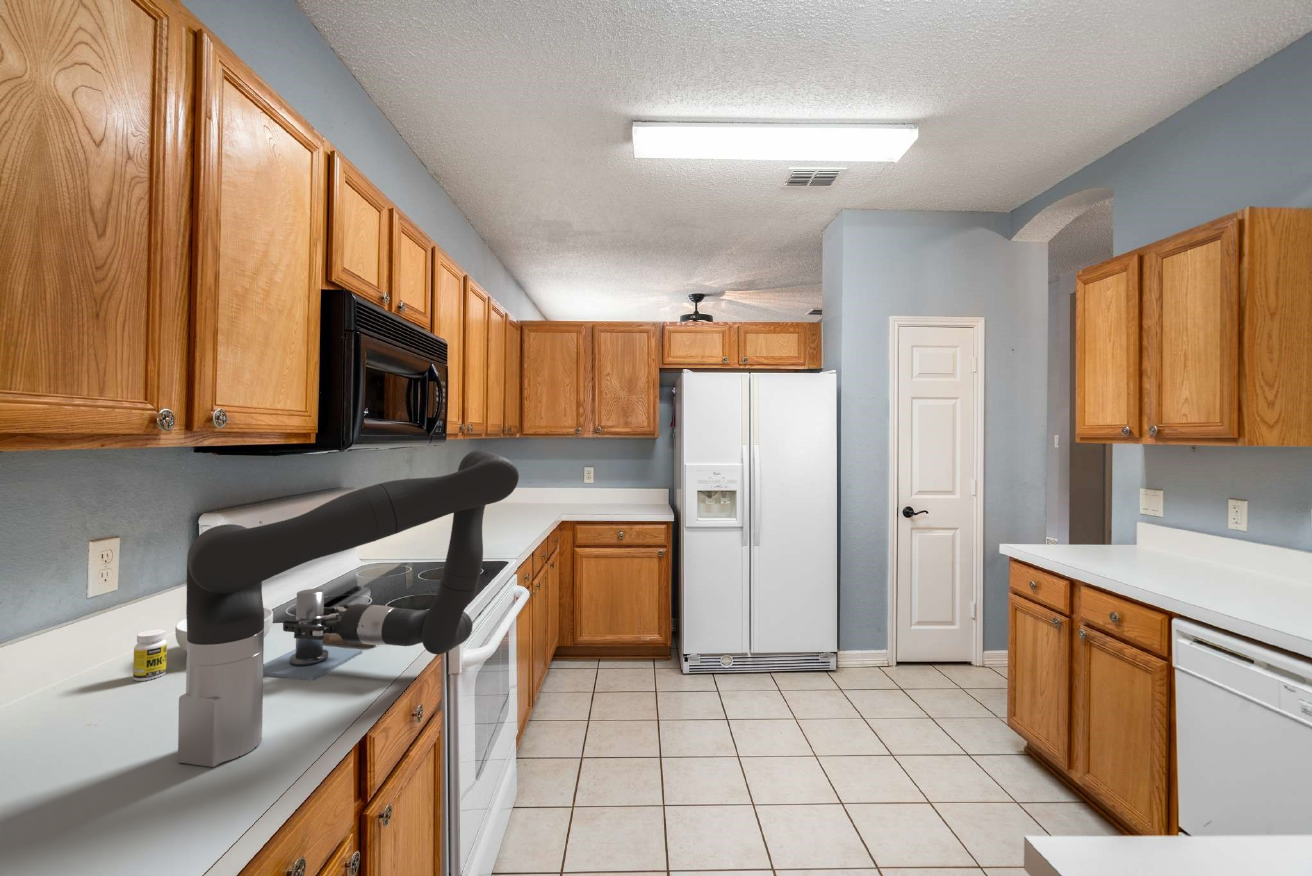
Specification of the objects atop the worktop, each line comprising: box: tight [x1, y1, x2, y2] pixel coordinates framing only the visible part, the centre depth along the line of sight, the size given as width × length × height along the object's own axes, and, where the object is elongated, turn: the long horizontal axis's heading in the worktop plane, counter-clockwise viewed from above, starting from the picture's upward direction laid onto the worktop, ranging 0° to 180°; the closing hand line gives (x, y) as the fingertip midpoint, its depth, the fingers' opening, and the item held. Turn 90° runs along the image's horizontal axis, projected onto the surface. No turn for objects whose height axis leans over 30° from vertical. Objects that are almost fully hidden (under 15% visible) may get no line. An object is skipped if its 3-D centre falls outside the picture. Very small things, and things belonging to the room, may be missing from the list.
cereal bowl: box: [175, 606, 274, 652], centre depth 122 cm, size 17×17×7 cm
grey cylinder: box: [290, 588, 328, 667], centre depth 117 cm, size 7×7×14 cm
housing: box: [323, 634, 377, 647], centre depth 134 cm, size 15×15×2 cm
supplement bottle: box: [132, 629, 168, 682], centre depth 109 cm, size 5×5×8 cm
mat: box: [263, 645, 363, 681], centre depth 117 cm, size 14×14×1 cm
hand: (301, 618), depth 117 cm, fingers open, 8 cm apart
